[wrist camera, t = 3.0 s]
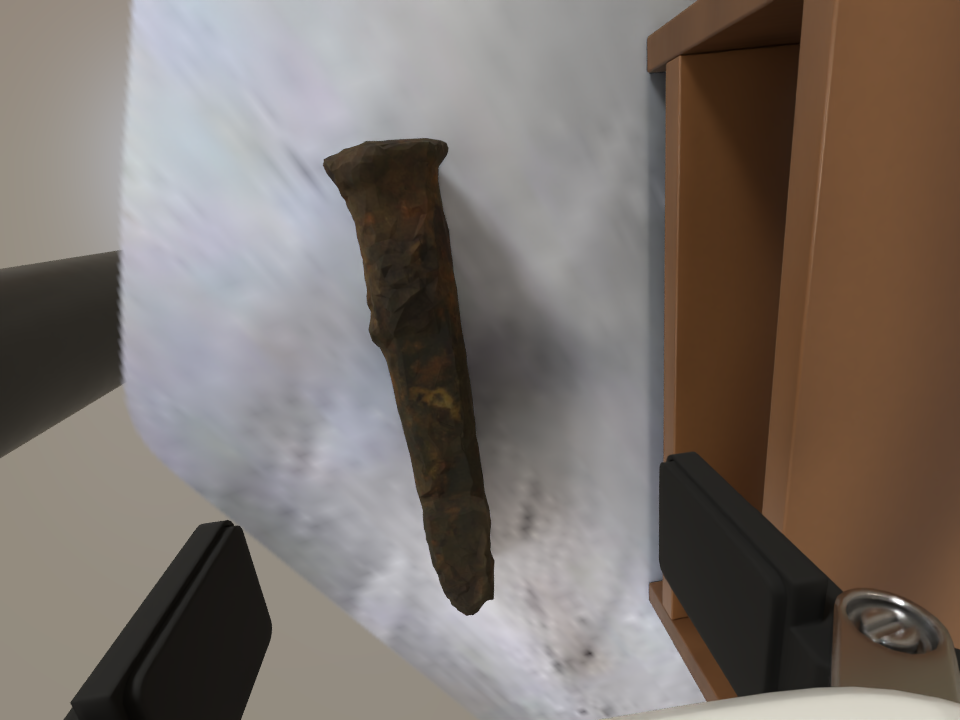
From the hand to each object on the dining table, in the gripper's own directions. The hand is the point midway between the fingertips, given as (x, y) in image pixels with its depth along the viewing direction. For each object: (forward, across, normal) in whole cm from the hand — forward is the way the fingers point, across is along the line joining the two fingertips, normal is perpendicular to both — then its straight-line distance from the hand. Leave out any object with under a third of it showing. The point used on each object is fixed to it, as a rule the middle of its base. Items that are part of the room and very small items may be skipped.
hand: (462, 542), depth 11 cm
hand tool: (+11, 0, 0) cm, 11 cm away
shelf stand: (+11, -13, +1) cm, 17 cm away
